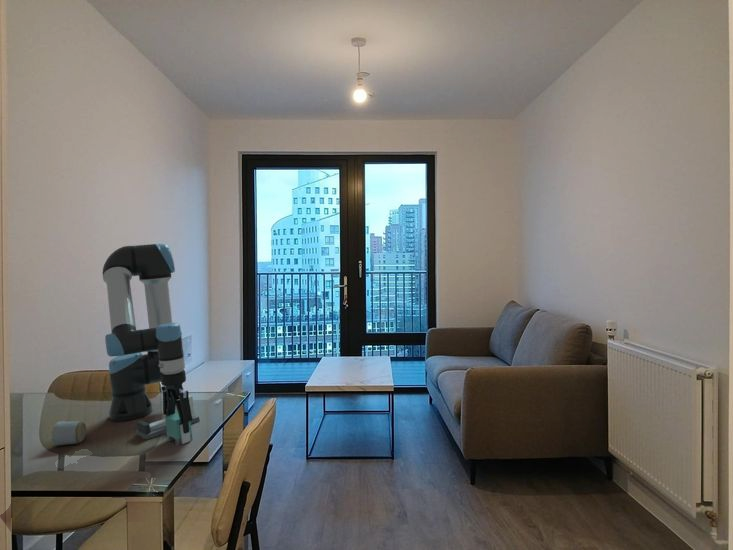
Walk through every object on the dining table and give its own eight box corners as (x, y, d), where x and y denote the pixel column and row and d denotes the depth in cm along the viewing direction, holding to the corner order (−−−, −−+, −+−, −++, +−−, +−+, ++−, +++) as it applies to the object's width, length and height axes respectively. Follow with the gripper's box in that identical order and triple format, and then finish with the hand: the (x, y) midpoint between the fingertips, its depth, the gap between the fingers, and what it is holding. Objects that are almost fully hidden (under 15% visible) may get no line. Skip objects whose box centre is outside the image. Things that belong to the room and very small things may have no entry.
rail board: (146, 439, 163) (143, 410, 162) (136, 434, 168) (133, 405, 167) (199, 420, 177) (196, 393, 176) (188, 416, 182) (185, 390, 181)
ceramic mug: (78, 446, 161) (76, 423, 161) (52, 449, 160) (49, 426, 160) (92, 434, 172) (90, 413, 171) (68, 437, 171) (65, 415, 170)
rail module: (177, 445, 157) (175, 420, 156) (167, 440, 161) (165, 416, 161) (192, 439, 160) (190, 415, 160) (182, 434, 165) (179, 411, 164)
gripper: (147, 369, 163) (154, 436, 165) (176, 378, 149) (184, 451, 151) (169, 364, 169) (175, 428, 170) (199, 372, 155) (206, 442, 157)
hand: (179, 439), depth 161 cm, fingers open, 8 cm apart
